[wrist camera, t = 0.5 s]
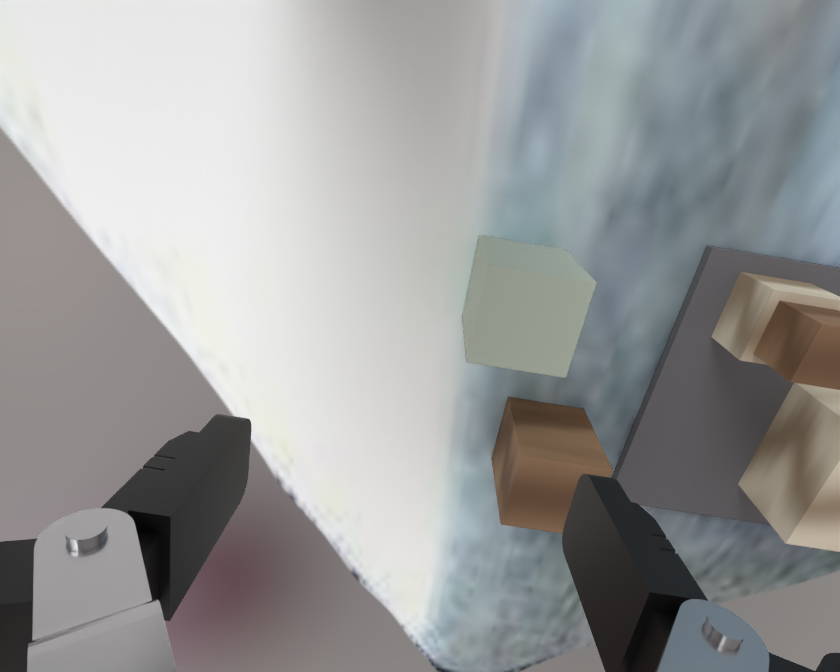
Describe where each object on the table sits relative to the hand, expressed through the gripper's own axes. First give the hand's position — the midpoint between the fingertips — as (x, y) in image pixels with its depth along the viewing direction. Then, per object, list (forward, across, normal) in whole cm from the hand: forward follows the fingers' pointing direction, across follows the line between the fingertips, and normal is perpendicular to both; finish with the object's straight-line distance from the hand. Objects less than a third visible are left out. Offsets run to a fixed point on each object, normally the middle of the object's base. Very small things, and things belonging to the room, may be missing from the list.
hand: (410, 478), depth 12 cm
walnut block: (+19, -9, +8) cm, 23 cm away
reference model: (+17, -19, -3) cm, 26 cm away
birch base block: (+18, -27, +5) cm, 33 cm away
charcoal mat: (+18, -24, +3) cm, 30 cm away
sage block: (+18, -5, -2) cm, 19 cm away
